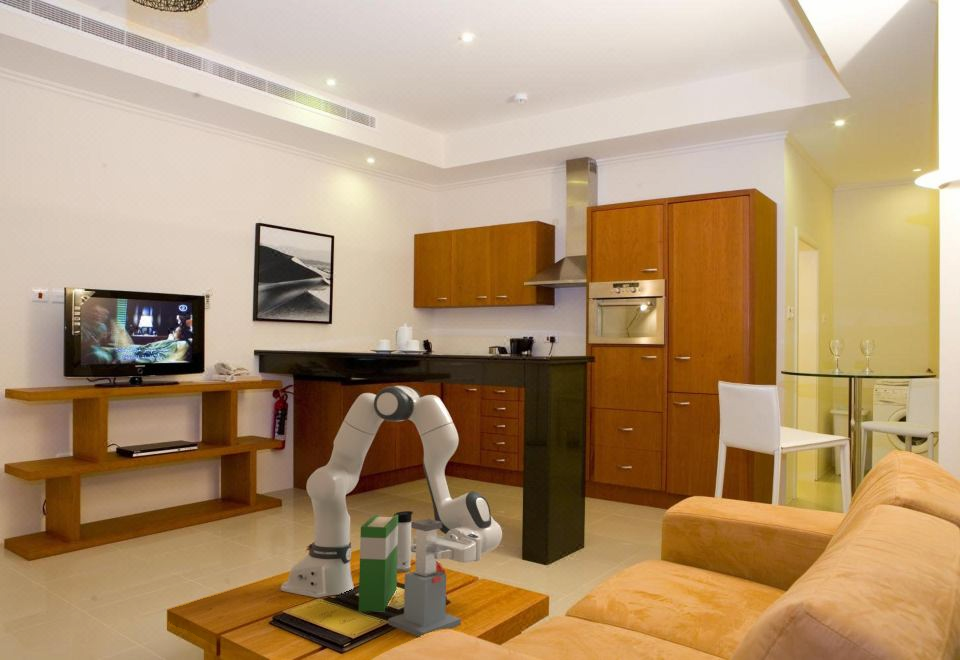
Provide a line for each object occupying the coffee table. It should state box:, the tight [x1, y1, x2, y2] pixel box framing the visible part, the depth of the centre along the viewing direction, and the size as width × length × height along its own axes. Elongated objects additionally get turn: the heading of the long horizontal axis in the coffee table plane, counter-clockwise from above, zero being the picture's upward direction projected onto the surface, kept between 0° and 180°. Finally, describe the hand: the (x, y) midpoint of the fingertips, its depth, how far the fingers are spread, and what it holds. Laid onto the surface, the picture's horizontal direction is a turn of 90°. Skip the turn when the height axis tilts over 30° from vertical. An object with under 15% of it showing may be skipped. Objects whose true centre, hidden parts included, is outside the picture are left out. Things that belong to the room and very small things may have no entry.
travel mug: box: [393, 510, 414, 573], centre depth 239 cm, size 6×7×20 cm
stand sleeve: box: [387, 571, 462, 638], centre depth 188 cm, size 14×14×14 cm
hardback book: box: [357, 513, 398, 613], centre depth 206 cm, size 18×7×24 cm, turn 175°
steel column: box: [411, 518, 442, 578], centre depth 188 cm, size 6×6×26 cm
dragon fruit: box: [436, 560, 446, 574], centre depth 222 cm, size 8×8×12 cm
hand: (423, 552), depth 188 cm, fingers open, 8 cm apart
